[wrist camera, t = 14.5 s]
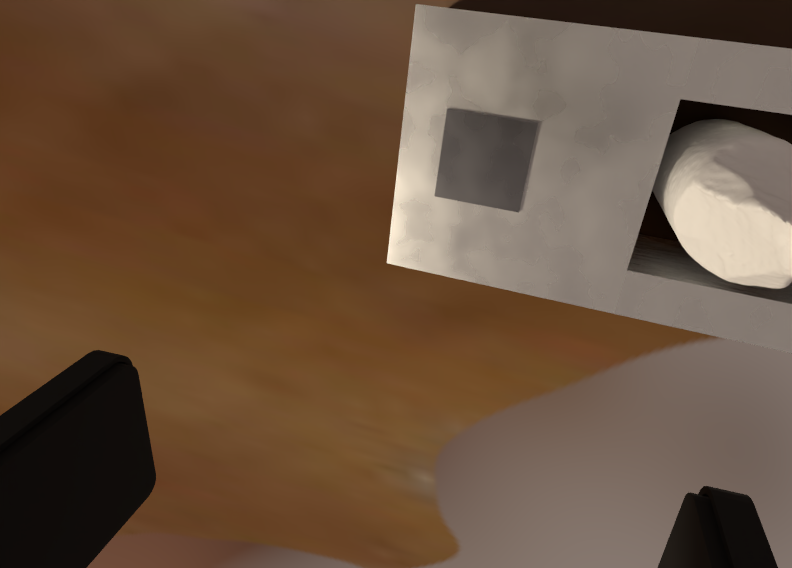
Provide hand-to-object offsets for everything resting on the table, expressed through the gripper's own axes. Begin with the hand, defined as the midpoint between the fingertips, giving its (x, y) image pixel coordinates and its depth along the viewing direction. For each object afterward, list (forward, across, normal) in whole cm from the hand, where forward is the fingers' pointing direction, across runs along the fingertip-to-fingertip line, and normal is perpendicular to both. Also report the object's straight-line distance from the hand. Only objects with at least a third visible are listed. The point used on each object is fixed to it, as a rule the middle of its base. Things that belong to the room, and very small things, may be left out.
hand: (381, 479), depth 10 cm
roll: (+25, -10, 0) cm, 27 cm away
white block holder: (+25, -10, 0) cm, 27 cm away
